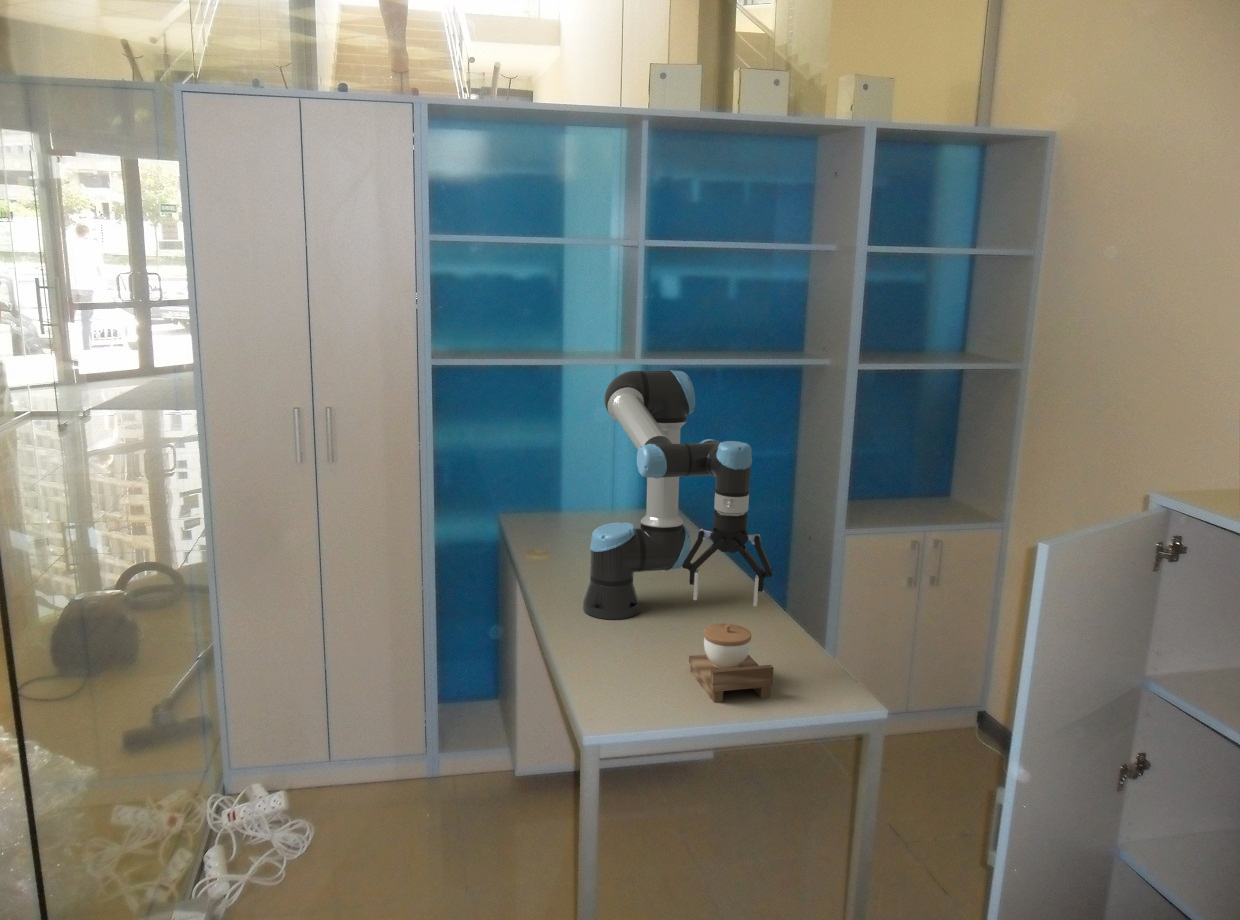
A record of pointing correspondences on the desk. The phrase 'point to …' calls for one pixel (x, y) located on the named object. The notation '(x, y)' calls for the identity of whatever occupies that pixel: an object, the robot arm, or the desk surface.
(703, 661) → the wooden stand
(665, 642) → the desk surface
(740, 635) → the lidded jar
